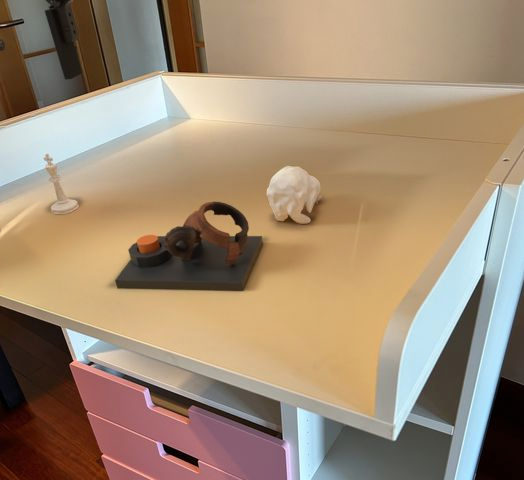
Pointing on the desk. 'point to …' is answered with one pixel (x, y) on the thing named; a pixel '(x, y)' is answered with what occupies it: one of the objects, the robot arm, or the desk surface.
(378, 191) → the desk surface
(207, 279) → the dark grey button base
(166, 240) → the brown curved loop
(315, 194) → the white animal figurine
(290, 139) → the desk surface
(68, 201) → the chess piece
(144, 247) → the button
